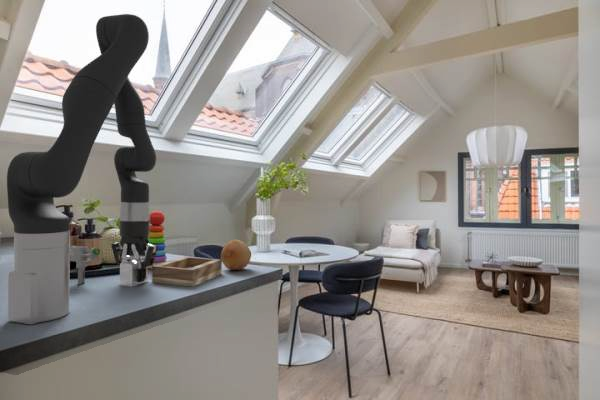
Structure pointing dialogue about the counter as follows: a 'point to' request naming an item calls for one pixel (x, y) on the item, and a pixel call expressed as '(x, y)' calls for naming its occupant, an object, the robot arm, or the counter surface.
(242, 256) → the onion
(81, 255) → the mechanical component
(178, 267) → the brown wooden tray
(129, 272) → the white block
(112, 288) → the counter surface
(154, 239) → the stacking toy
